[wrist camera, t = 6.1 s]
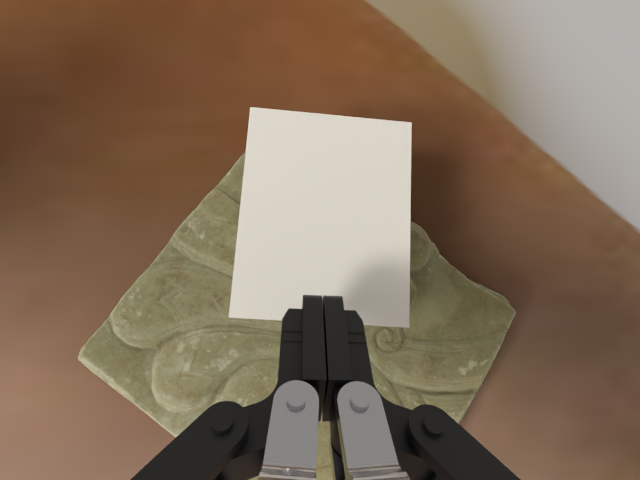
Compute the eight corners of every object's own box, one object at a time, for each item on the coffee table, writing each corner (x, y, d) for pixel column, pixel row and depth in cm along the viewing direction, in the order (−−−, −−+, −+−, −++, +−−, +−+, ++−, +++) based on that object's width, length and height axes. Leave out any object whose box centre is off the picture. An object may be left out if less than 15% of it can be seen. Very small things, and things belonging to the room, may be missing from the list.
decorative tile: (364, 551, 21) (379, 601, 17) (95, 350, 22) (57, 358, 18) (513, 290, 24) (550, 287, 21) (277, 126, 25) (275, 97, 22)
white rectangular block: (228, 317, 15) (250, 107, 17) (241, 315, 19) (258, 143, 21) (409, 327, 16) (411, 122, 18) (386, 323, 20) (389, 155, 22)
